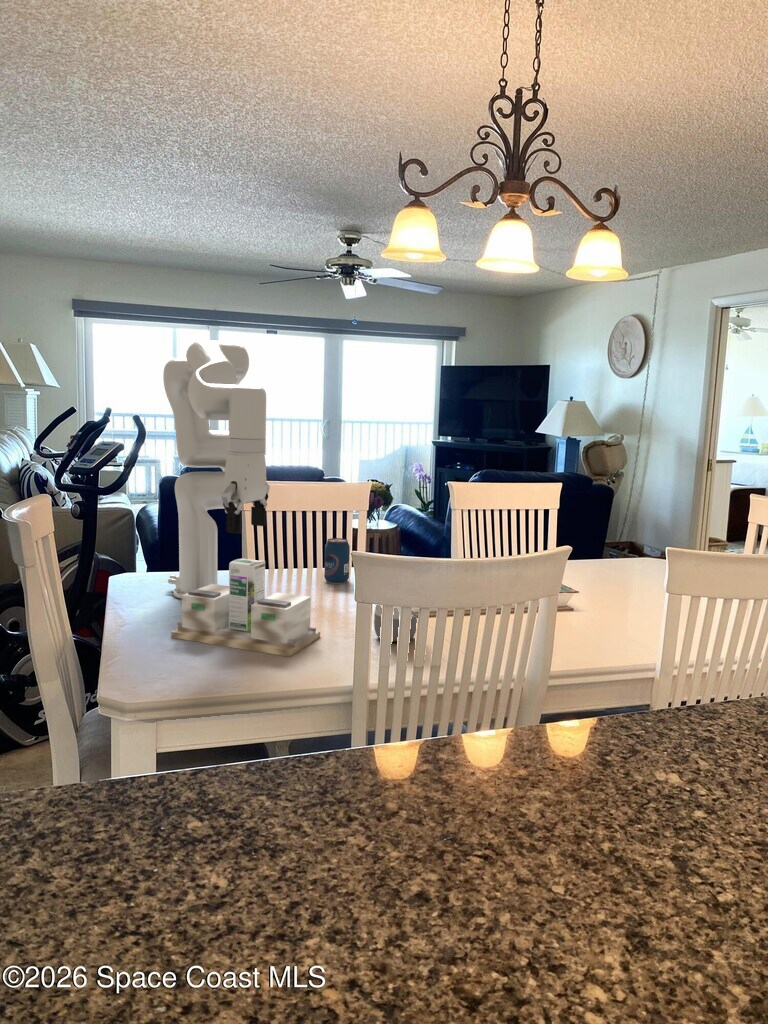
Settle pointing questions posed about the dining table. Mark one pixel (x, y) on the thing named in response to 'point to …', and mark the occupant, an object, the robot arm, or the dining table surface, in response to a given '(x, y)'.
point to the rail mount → (273, 621)
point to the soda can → (337, 561)
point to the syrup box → (244, 591)
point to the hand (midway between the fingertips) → (246, 529)
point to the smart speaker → (395, 623)
